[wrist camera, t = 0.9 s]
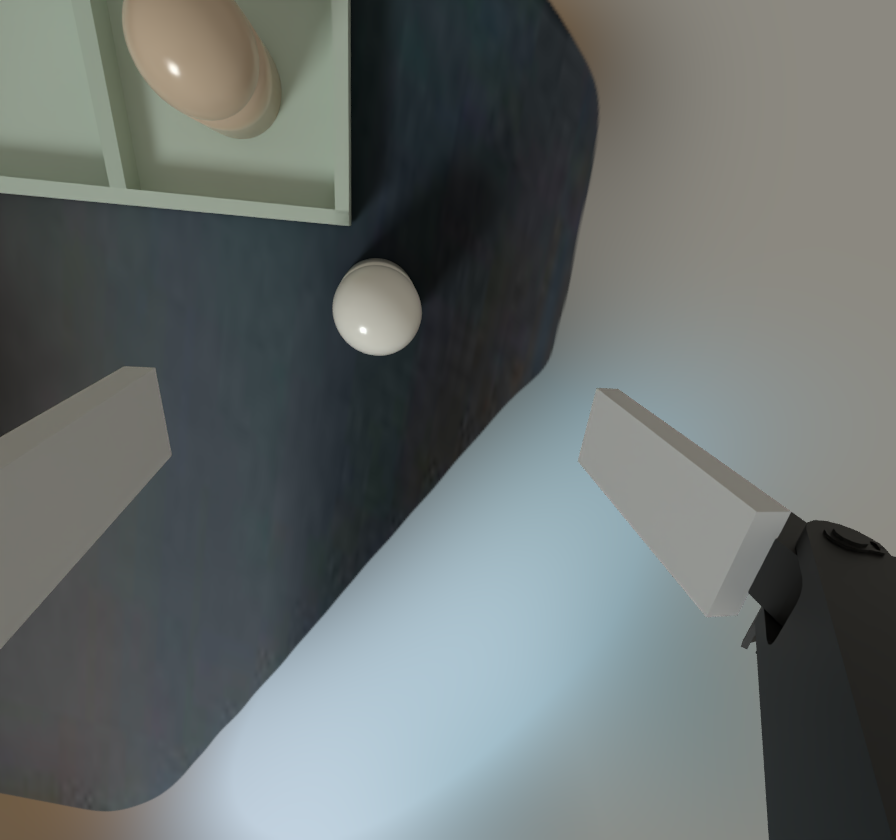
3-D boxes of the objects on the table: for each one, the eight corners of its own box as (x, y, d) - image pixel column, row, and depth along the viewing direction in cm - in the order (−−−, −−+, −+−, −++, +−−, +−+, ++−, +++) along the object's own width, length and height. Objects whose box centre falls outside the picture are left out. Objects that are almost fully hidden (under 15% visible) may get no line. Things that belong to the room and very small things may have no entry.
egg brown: (186, 132, 24) (110, 97, 17) (170, 11, 22) (75, -84, 15) (284, 144, 25) (249, 115, 18) (278, 29, 23) (234, -53, 16)
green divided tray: (-103, 182, 24) (-151, 178, 21) (-238, -168, 18) (-320, -220, 16) (351, 225, 28) (348, 225, 26) (350, -49, 22) (347, -78, 20)
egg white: (340, 332, 30) (329, 364, 24) (339, 254, 28) (326, 265, 22) (412, 336, 31) (422, 368, 25) (417, 261, 29) (429, 273, 22)
